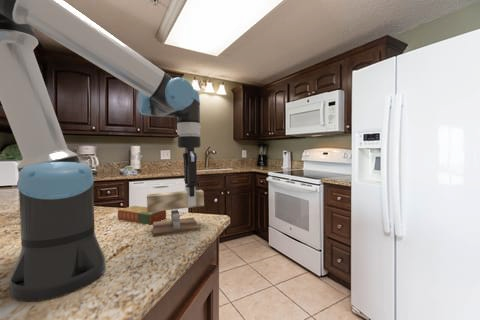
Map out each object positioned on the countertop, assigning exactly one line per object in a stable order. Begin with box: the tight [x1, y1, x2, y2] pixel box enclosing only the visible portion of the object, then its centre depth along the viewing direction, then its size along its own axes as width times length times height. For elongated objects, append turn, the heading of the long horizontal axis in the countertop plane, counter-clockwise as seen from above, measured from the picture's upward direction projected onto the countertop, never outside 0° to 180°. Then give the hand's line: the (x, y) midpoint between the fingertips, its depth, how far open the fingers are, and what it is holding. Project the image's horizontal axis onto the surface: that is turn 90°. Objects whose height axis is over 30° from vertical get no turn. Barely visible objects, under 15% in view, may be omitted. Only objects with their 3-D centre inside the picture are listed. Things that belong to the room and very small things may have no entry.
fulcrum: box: [152, 209, 201, 237], centre depth 77 cm, size 12×14×5 cm
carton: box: [117, 205, 167, 226], centre depth 87 cm, size 8×16×4 cm, turn 67°
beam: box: [146, 189, 205, 212], centre depth 77 cm, size 18×4×5 cm, turn 111°
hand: (190, 204), depth 79 cm, fingers closed on beam, 4 cm apart
